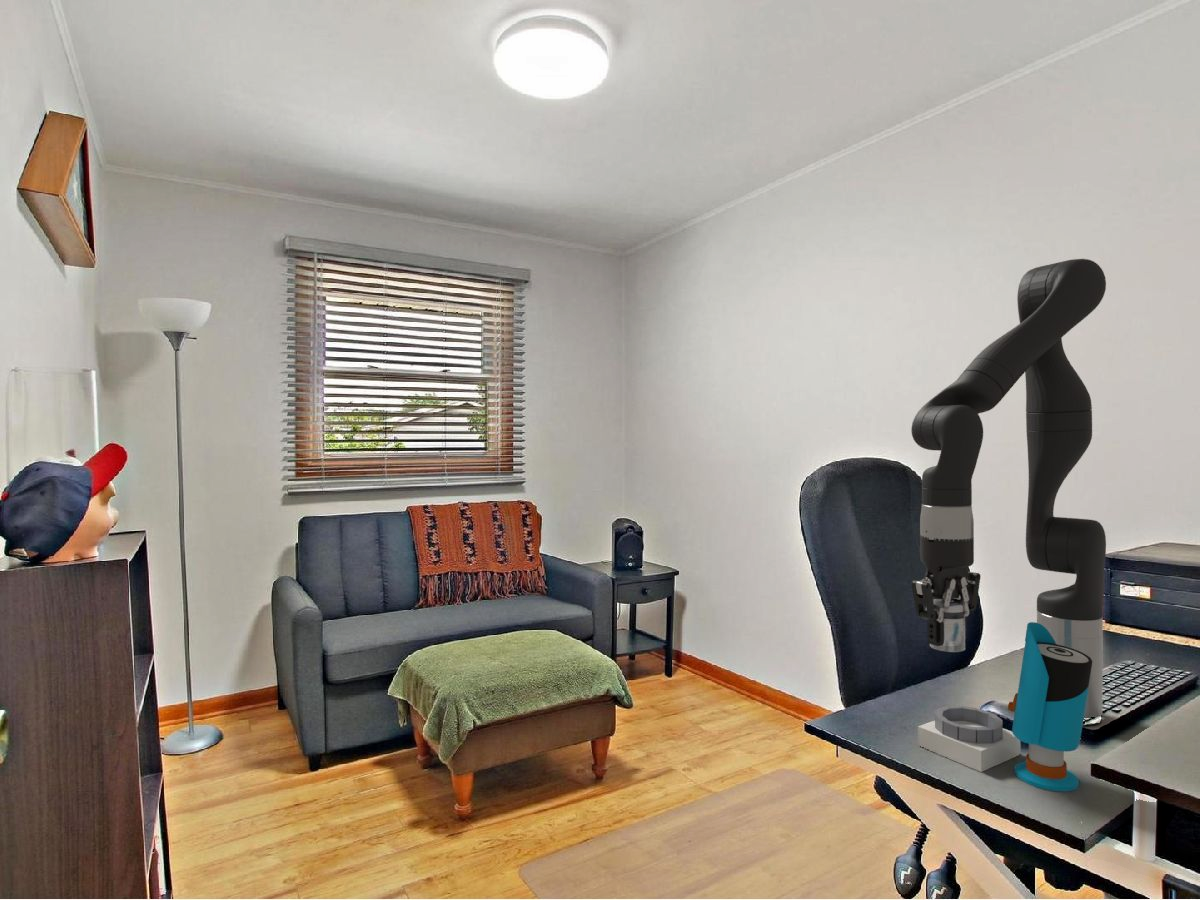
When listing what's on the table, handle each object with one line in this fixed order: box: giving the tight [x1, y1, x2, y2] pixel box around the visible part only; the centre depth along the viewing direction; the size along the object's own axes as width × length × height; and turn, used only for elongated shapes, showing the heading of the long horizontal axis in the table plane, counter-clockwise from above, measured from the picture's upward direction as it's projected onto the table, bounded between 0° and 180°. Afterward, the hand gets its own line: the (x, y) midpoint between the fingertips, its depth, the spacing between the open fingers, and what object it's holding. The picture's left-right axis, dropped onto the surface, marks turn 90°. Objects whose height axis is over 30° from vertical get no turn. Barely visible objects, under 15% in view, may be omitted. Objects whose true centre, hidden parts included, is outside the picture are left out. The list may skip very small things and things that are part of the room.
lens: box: [929, 598, 966, 653], centre depth 112 cm, size 5×5×7 cm
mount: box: [917, 705, 1021, 773], centre depth 108 cm, size 10×10×5 cm
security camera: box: [1007, 621, 1092, 792], centre depth 99 cm, size 8×21×10 cm
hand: (947, 641), depth 112 cm, fingers closed on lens, 5 cm apart
